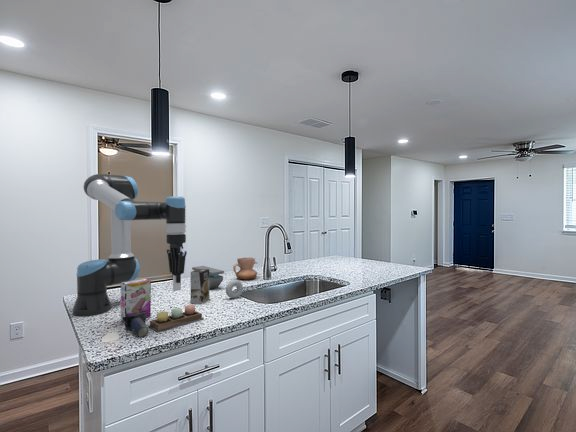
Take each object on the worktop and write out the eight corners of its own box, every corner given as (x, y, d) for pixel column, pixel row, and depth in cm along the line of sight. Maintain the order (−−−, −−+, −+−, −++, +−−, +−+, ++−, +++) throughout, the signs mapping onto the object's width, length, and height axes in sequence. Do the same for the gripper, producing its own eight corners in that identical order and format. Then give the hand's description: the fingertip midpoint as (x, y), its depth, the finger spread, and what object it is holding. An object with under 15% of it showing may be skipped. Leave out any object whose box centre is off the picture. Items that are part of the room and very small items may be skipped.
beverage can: (125, 333, 123) (134, 344, 114) (121, 315, 121) (130, 325, 112) (148, 323, 128) (159, 333, 120) (145, 306, 127) (155, 315, 118)
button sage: (169, 316, 130) (169, 309, 130) (179, 313, 133) (179, 307, 133) (174, 318, 127) (174, 312, 127) (183, 315, 130) (183, 309, 130)
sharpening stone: (224, 289, 187) (224, 270, 187) (212, 291, 181) (212, 272, 181) (203, 282, 205) (203, 265, 205) (192, 284, 199) (192, 267, 199)
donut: (227, 300, 162) (227, 281, 162) (224, 299, 165) (224, 280, 165) (244, 297, 169) (244, 278, 168) (240, 296, 171) (240, 277, 171)
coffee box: (201, 304, 156) (201, 272, 156) (190, 303, 158) (189, 271, 157) (210, 299, 165) (209, 268, 165) (198, 298, 167) (198, 268, 166)
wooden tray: (148, 326, 126) (148, 320, 126) (193, 314, 140) (193, 309, 140) (157, 332, 120) (157, 326, 120) (203, 319, 134) (203, 313, 134)
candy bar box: (125, 323, 130) (125, 284, 129) (120, 321, 133) (119, 282, 132) (151, 316, 138) (151, 279, 138) (146, 314, 141) (145, 278, 141)
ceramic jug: (254, 275, 226) (253, 256, 225) (262, 279, 213) (261, 258, 213) (230, 278, 217) (229, 258, 217) (236, 282, 204) (236, 261, 204)
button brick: (183, 312, 134) (182, 306, 134) (191, 310, 137) (191, 304, 137) (187, 314, 131) (187, 308, 131) (196, 312, 134) (196, 306, 134)
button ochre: (155, 319, 125) (155, 313, 125) (165, 317, 128) (165, 310, 128) (159, 322, 123) (159, 315, 123) (170, 319, 126) (170, 313, 126)
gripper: (192, 233, 128) (193, 291, 128) (177, 232, 137) (178, 286, 137) (175, 234, 122) (175, 294, 122) (160, 233, 131) (161, 289, 131)
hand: (177, 290), depth 130 cm, fingers closed
